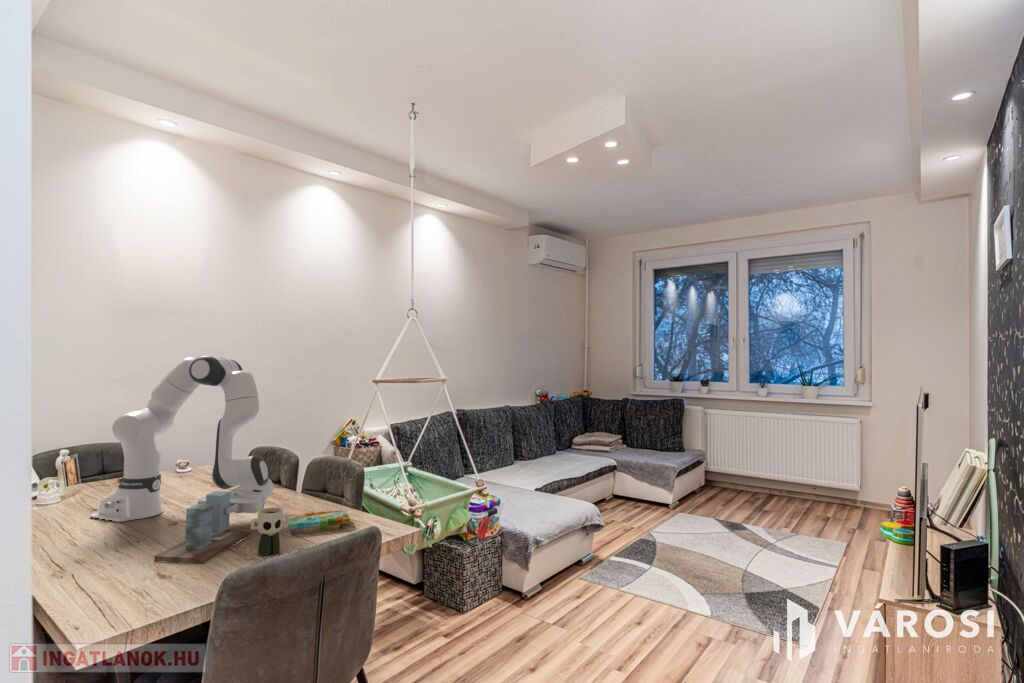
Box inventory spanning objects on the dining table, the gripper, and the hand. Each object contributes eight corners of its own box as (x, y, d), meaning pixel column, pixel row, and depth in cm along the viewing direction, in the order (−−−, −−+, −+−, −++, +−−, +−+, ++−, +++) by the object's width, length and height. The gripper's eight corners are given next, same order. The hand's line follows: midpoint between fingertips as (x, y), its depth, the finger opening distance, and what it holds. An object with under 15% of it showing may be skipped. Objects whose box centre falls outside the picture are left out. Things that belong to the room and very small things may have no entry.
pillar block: (204, 532, 164) (206, 495, 165) (214, 527, 169) (215, 491, 170) (219, 533, 164) (221, 495, 164) (228, 528, 169) (230, 491, 169)
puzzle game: (288, 512, 183) (346, 507, 192) (287, 526, 183) (345, 520, 192) (288, 522, 173) (350, 516, 181) (288, 536, 173) (349, 529, 181)
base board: (154, 561, 149) (156, 514, 149) (207, 533, 173) (209, 493, 173) (203, 563, 148) (205, 516, 149) (250, 535, 172) (252, 494, 173)
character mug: (252, 560, 151) (254, 516, 152) (246, 553, 157) (248, 510, 157) (290, 552, 158) (292, 510, 158) (284, 545, 164) (286, 504, 164)
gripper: (212, 489, 181) (185, 499, 167) (269, 491, 179) (246, 502, 166) (212, 507, 180) (184, 519, 167) (268, 509, 179) (245, 522, 165)
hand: (216, 511), depth 166 cm, fingers closed on pillar block, 5 cm apart
